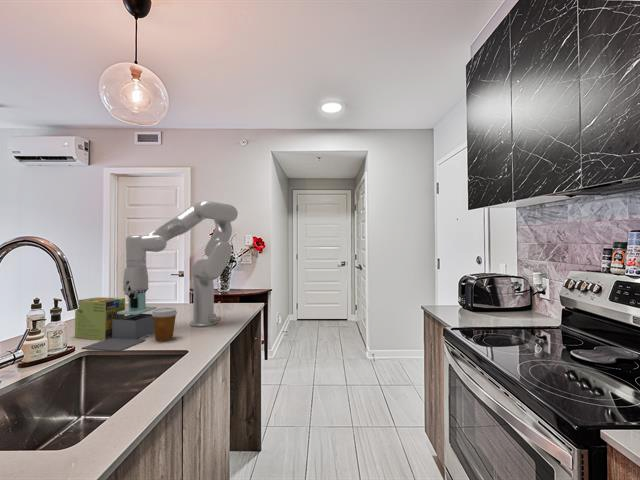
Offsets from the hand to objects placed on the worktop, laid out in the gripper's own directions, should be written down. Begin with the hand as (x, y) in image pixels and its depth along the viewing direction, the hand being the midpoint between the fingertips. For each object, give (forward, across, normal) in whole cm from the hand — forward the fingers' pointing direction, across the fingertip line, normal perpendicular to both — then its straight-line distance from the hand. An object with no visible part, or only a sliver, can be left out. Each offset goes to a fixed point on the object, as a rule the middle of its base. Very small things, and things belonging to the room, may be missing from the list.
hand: (137, 306), depth 141 cm
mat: (+12, +14, +1) cm, 18 cm away
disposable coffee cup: (+13, +4, +15) cm, 20 cm away
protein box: (+12, +4, -15) cm, 20 cm away
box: (+12, +1, -1) cm, 12 cm away
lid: (+2, 0, 0) cm, 2 cm away
